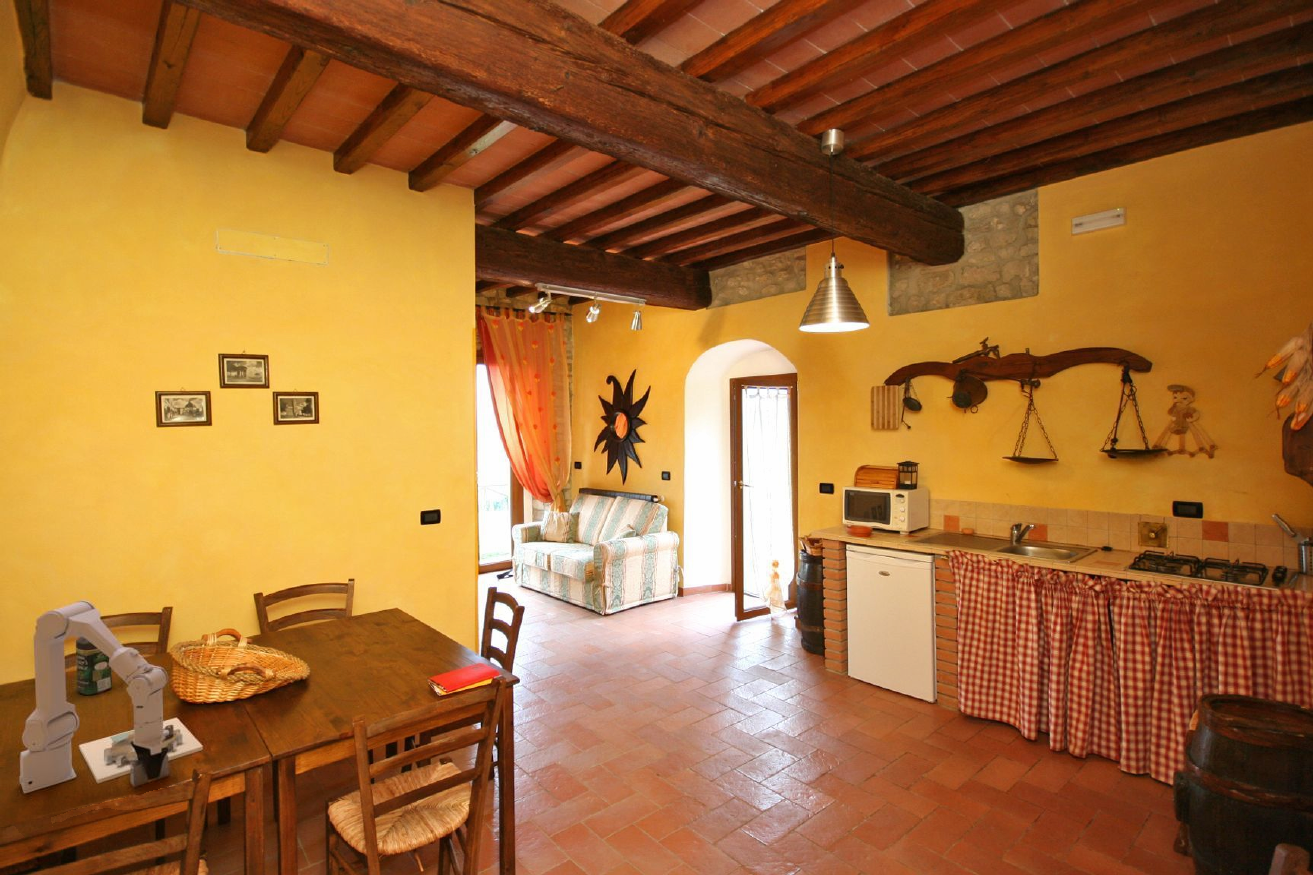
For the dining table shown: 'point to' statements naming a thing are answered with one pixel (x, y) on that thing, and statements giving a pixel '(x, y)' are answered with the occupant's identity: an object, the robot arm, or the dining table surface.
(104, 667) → the coffee jar
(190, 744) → the sprocket base
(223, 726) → the dining table surface
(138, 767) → the link block
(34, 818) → the dining table surface
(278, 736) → the dining table surface
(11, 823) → the dining table surface
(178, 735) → the sprocket
